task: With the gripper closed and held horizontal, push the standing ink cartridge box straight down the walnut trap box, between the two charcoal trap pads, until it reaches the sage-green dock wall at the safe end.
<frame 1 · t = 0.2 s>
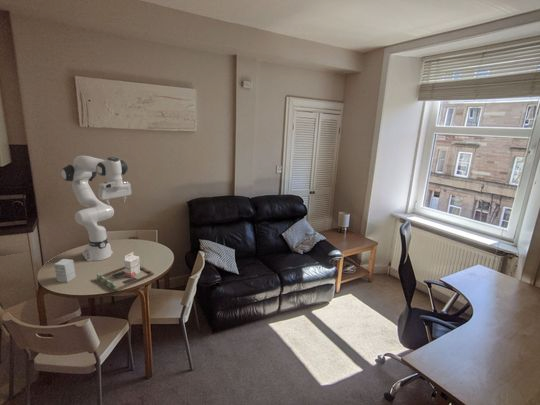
hand: (116, 203, 188), 48 cm above the table, tool pointing down, fingers open, 8 cm apart
ink cartridge box: (133, 274, 196), resting in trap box
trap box: (126, 276, 192), on the table
supplement box: (66, 279, 186), on the table
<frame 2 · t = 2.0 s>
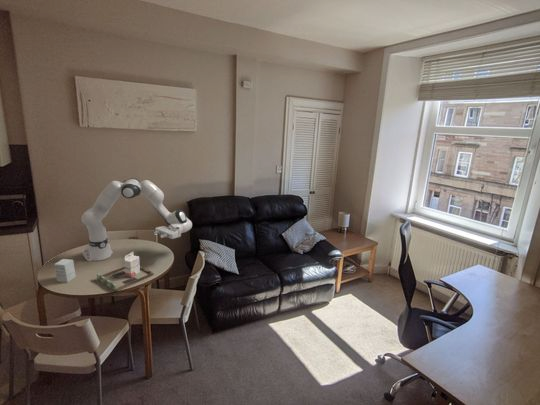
hand: (157, 235, 206), 22 cm above the table, tool horizontal, fingers open, 6 cm apart
nothing on the table moved.
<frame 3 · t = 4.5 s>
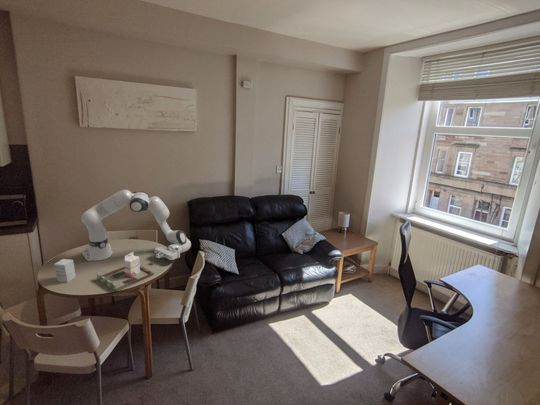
hand: (156, 256, 210), 6 cm above the table, tool horizontal, fingers closed
nothing on the table moved.
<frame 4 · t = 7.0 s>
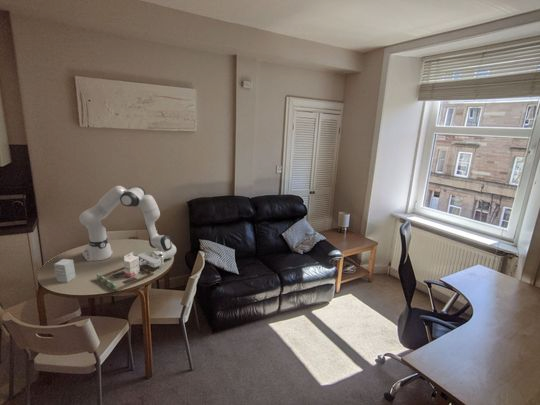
hand: (138, 263, 198), 6 cm above the table, tool horizontal, fingers closed
ink cartridge box: (132, 274, 196), resting in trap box, touching gripper
everything else where it was.
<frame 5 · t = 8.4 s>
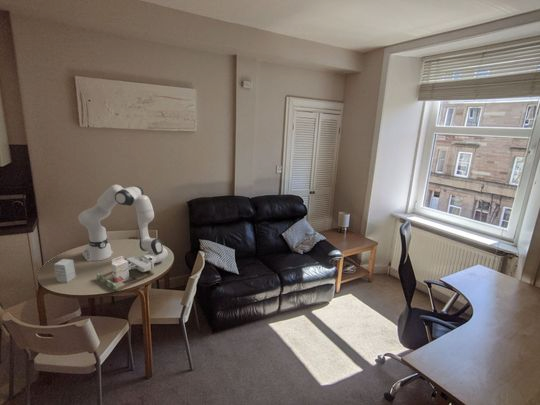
hand: (127, 268, 192), 6 cm above the table, tool horizontal, fingers closed, pressing on ink cartridge box
ink cartridge box: (121, 278, 190), resting in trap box, touching gripper
everything else where it was.
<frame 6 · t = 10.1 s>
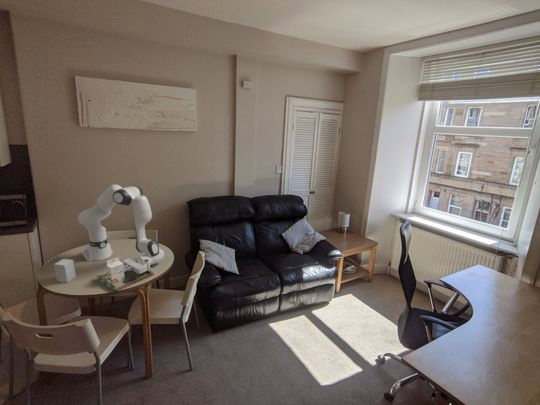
hand: (123, 269, 189), 6 cm above the table, tool horizontal, fingers closed
ink cartridge box: (116, 280, 188), resting in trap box
everything else where it was.
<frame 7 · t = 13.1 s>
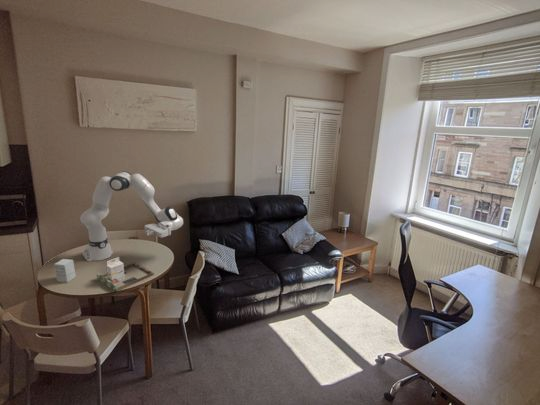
hand: (145, 233, 199), 26 cm above the table, tool horizontal, fingers closed
nothing on the table moved.
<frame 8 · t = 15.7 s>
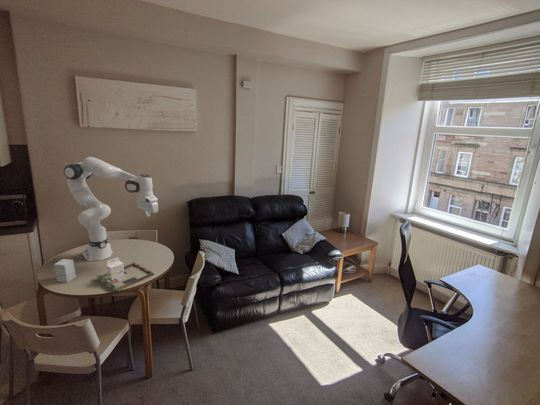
hand: (147, 216, 206), 35 cm above the table, tool pointing down, fingers closed
nothing on the table moved.
at the end: ink cartridge box inside the target area (2.1 cm from its centre), resting in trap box; ink cartridge box tilted 0°; ink cartridge box moved 11.0 cm from its start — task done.
